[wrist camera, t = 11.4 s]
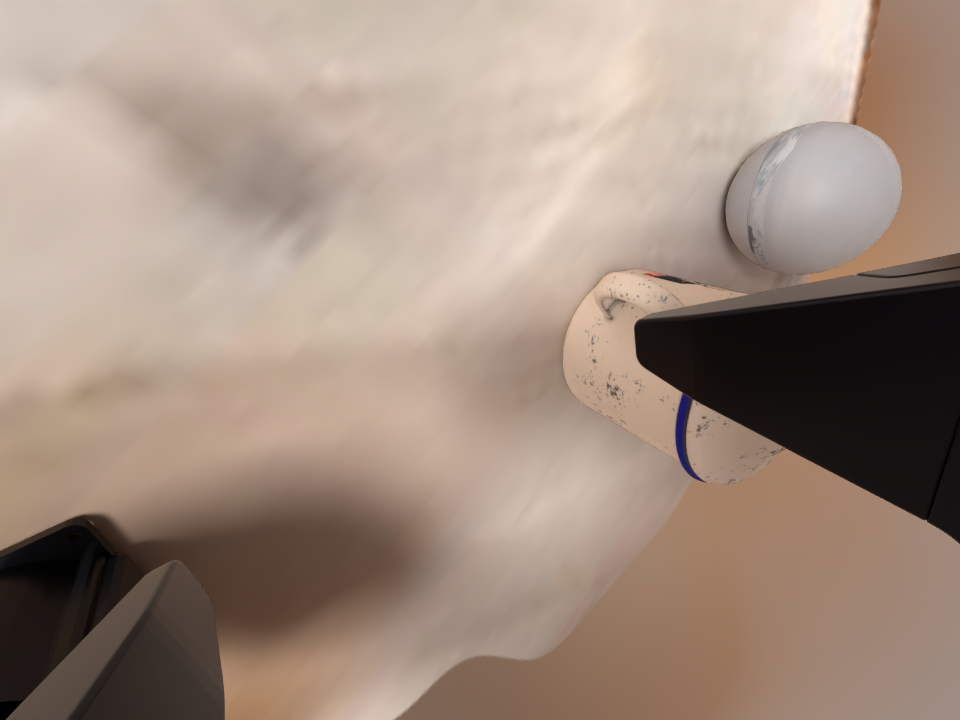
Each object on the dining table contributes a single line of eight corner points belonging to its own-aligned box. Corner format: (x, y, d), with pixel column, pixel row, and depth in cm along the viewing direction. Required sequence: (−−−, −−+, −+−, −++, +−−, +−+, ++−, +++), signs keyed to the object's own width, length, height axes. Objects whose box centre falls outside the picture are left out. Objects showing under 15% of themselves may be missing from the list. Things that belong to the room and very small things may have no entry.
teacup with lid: (690, 322, 32) (901, 390, 22) (607, 432, 31) (785, 549, 22) (602, 191, 25) (857, 207, 15) (494, 330, 24) (685, 437, 15)
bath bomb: (678, 190, 27) (830, 198, 21) (765, 95, 28) (937, 74, 21) (716, 287, 32) (851, 319, 25) (790, 204, 33) (938, 213, 26)
